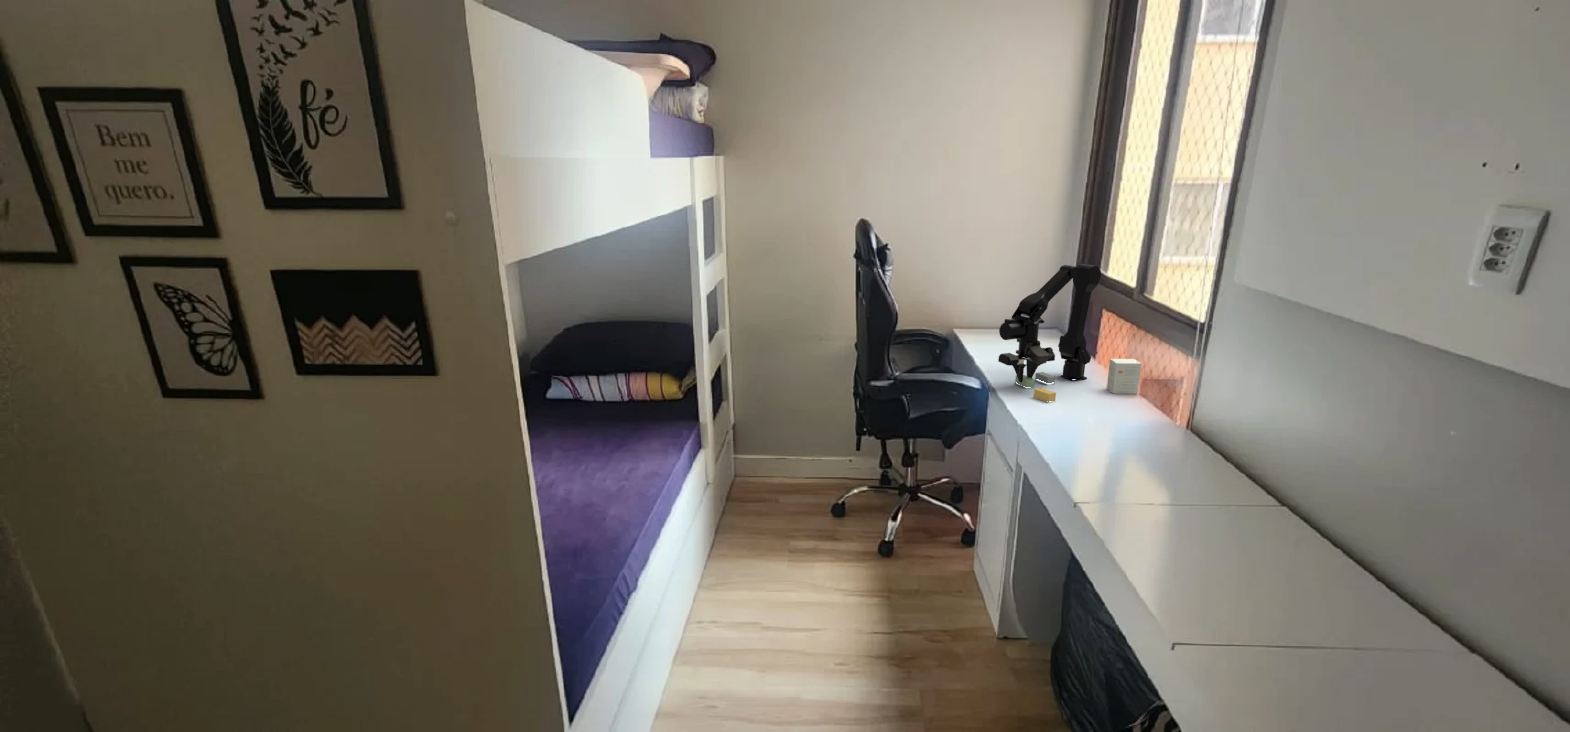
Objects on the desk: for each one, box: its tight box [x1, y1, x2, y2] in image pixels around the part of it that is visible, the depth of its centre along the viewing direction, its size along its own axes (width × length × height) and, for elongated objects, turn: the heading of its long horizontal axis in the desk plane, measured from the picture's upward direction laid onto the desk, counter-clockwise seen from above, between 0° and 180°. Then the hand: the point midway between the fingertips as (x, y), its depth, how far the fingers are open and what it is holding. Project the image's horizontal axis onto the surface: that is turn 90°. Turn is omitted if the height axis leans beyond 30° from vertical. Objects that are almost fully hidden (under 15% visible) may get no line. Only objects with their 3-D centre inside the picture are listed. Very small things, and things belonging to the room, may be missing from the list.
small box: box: [1106, 358, 1142, 395], centre depth 222 cm, size 8×6×10 cm
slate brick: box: [1034, 371, 1056, 383], centre depth 233 cm, size 6×3×3 cm, turn 21°
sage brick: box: [1014, 374, 1035, 387], centre depth 229 cm, size 6×3×3 cm, turn 18°
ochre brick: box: [1033, 387, 1057, 403], centre depth 216 cm, size 6×3×3 cm, turn 29°
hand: (1024, 381), depth 229 cm, fingers closed on sage brick, 3 cm apart
